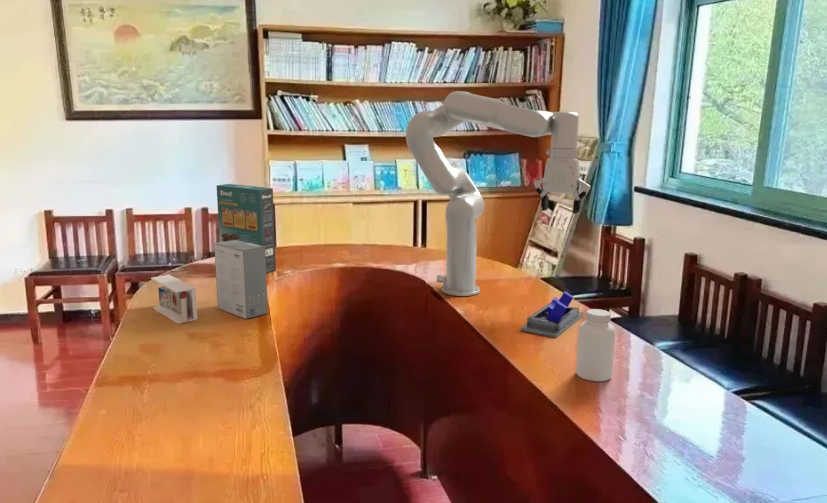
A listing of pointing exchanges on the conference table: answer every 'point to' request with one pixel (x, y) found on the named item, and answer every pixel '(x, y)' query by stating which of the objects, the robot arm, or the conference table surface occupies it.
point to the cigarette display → (176, 299)
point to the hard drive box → (241, 278)
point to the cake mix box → (247, 217)
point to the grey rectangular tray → (551, 322)
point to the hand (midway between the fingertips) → (560, 211)
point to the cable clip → (558, 307)
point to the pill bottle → (595, 346)
